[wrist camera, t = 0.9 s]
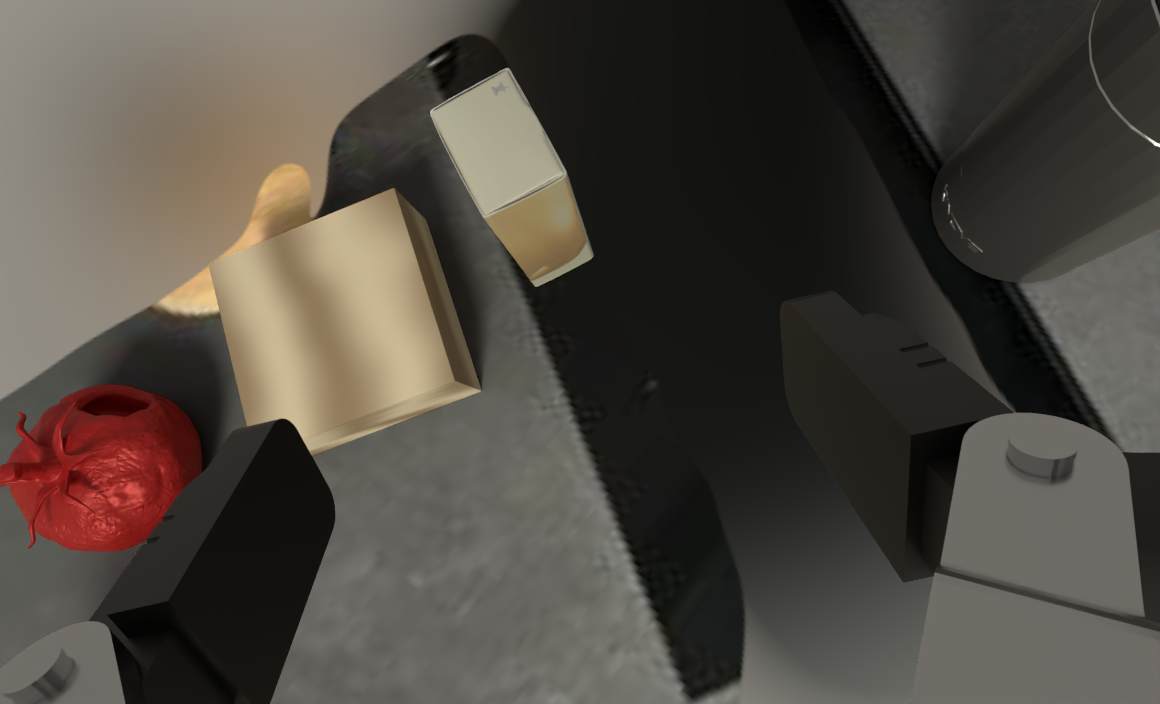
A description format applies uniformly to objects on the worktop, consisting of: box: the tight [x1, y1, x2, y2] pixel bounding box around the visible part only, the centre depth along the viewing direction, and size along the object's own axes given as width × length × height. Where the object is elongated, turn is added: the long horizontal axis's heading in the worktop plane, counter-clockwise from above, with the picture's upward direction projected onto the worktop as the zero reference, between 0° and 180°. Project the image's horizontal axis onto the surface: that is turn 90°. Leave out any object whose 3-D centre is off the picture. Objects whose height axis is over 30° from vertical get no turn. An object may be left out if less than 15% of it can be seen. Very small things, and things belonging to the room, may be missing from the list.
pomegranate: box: [0, 384, 202, 551], centre depth 36 cm, size 10×10×9 cm
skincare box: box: [430, 68, 594, 287], centre depth 34 cm, size 6×4×12 cm
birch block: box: [209, 188, 482, 455], centre depth 38 cm, size 12×12×5 cm
